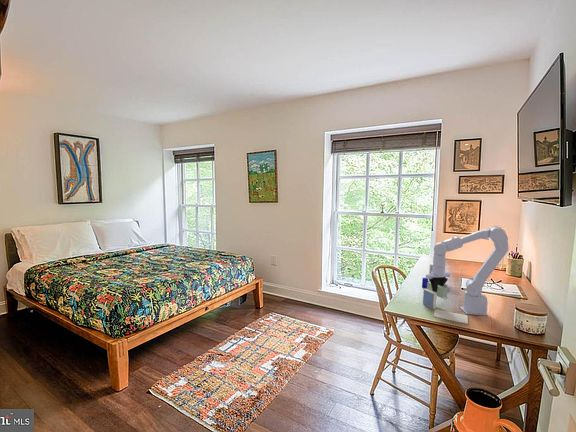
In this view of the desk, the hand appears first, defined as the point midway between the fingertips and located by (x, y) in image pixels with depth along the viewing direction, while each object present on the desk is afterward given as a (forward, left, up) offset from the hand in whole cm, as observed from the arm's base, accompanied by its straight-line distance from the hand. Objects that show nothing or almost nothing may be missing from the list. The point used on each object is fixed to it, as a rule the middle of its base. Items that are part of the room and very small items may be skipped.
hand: (437, 291), depth 153 cm
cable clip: (-5, -23, -8) cm, 25 cm away
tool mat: (-2, +14, -7) cm, 16 cm away
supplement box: (-11, -37, -8) cm, 39 cm away
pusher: (0, 0, -2) cm, 2 cm away
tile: (+4, +2, -8) cm, 9 cm away
